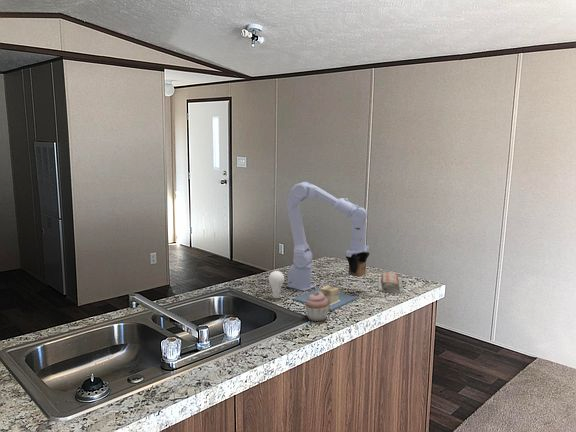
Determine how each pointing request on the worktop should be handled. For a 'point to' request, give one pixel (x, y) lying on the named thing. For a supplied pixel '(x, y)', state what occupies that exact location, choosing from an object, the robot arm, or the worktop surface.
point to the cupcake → (317, 306)
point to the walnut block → (359, 269)
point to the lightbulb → (276, 283)
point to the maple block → (330, 293)
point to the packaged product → (390, 283)
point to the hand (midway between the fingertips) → (357, 270)
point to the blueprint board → (342, 301)
